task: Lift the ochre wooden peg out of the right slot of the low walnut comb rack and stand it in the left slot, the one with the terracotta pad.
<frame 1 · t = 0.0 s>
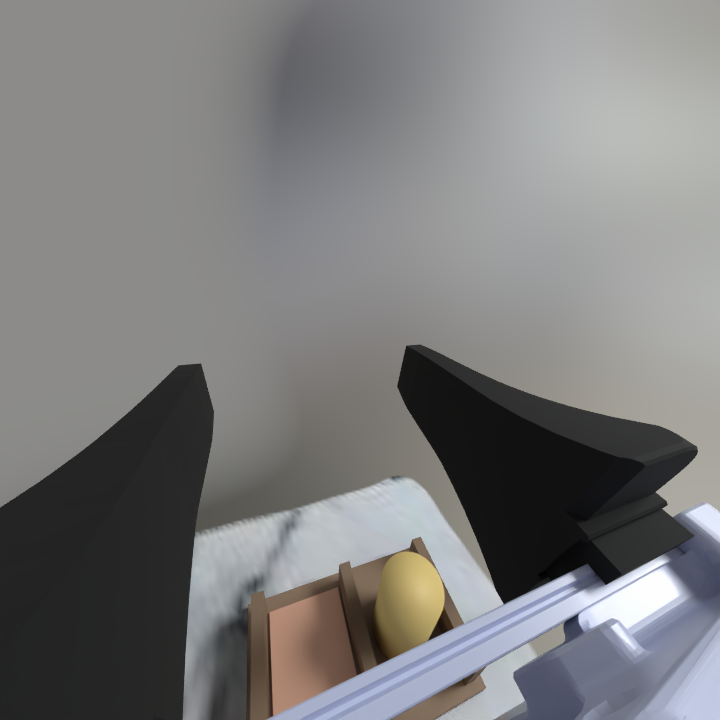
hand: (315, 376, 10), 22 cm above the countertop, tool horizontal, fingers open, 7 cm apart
peg: (399, 624, 20), resting on comb rack
comb rack: (357, 645, 19), on the countertop
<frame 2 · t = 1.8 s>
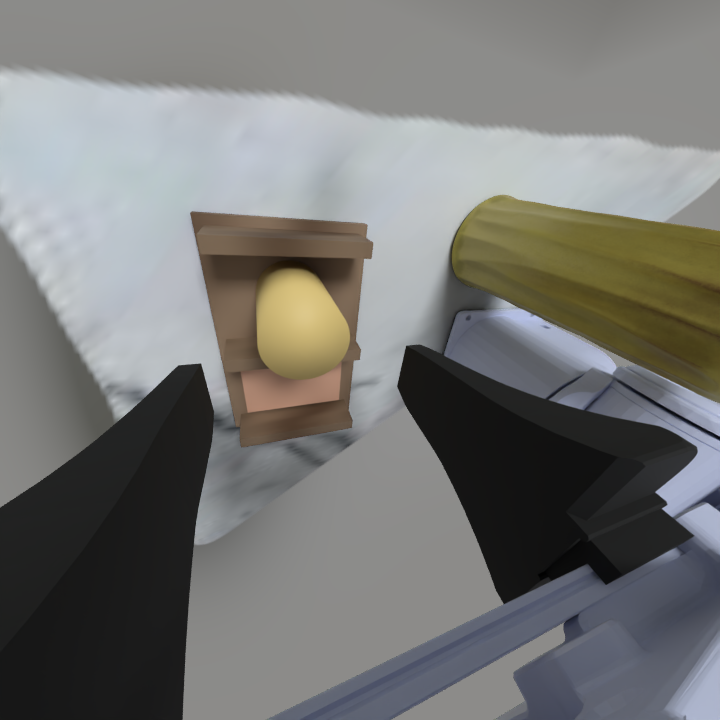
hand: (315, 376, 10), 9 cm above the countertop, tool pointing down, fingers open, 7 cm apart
peg: (290, 294, 17), resting on comb rack
vase: (485, 243, 20), on the countertop
comb rack: (291, 336, 19), on the countertop
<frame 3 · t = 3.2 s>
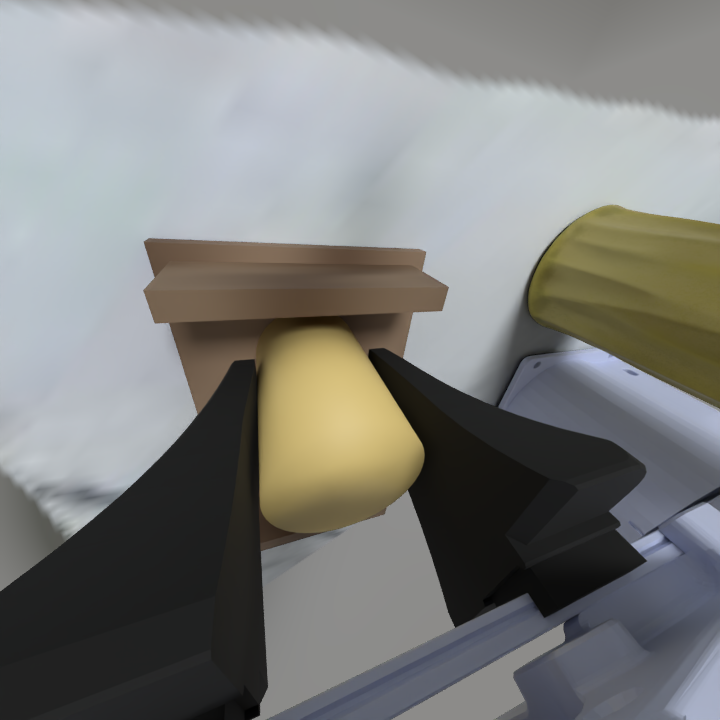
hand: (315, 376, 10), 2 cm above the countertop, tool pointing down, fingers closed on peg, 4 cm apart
peg: (308, 353, 11), point 1 cm above the countertop, touching comb rack, gripper
vase: (571, 270, 14), on the countertop
comb rack: (306, 403, 13), on the countertop
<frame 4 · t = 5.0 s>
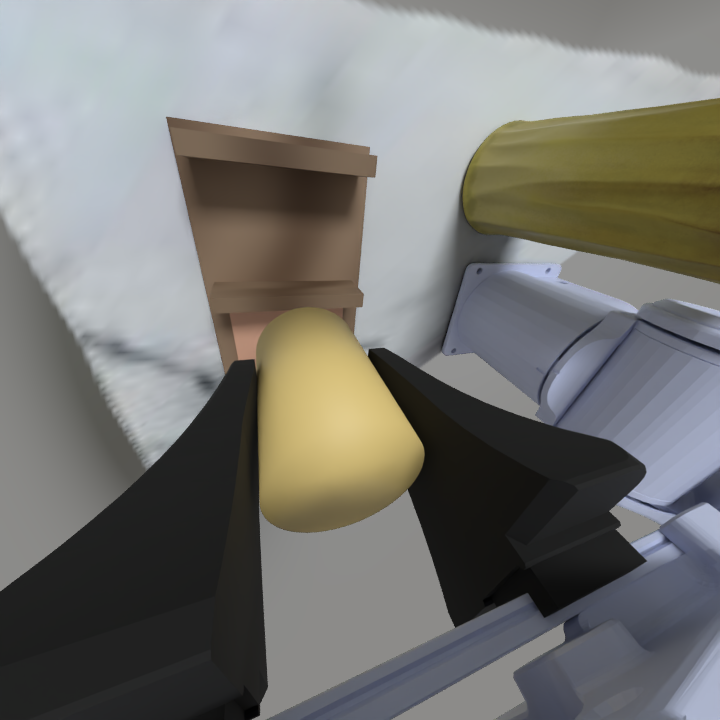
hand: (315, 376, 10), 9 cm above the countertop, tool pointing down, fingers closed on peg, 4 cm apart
peg: (307, 352, 11), point 8 cm above the countertop, touching gripper
vase: (499, 183, 18), on the countertop
comb rack: (287, 284, 17), on the countertop
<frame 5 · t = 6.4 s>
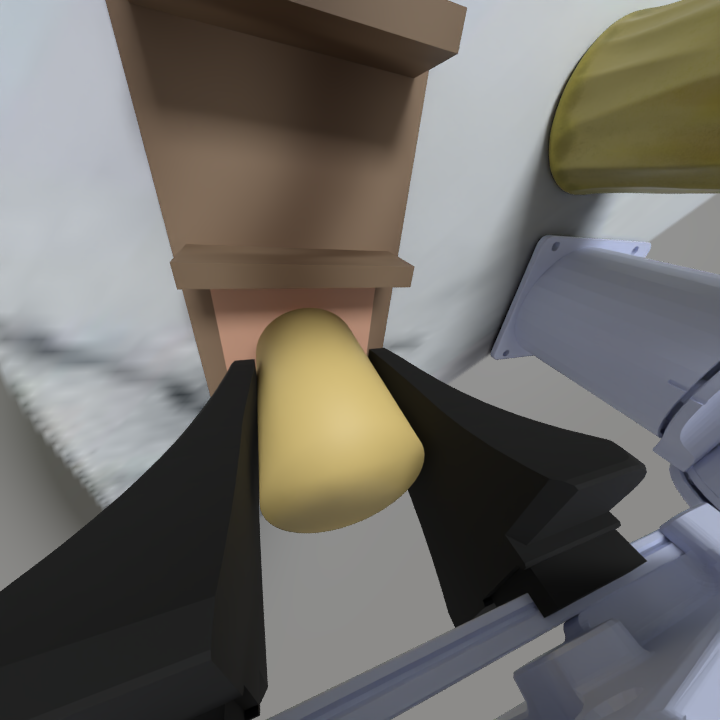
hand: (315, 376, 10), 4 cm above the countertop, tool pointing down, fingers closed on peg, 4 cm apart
peg: (308, 353, 11), point 3 cm above the countertop, touching gripper
vase: (598, 117, 13), on the countertop
comb rack: (297, 255, 12), on the countertop
when the fingers open (4 cm above the countertop, at t = 7.0 s): peg drops 1 cm, resting on comb rack.
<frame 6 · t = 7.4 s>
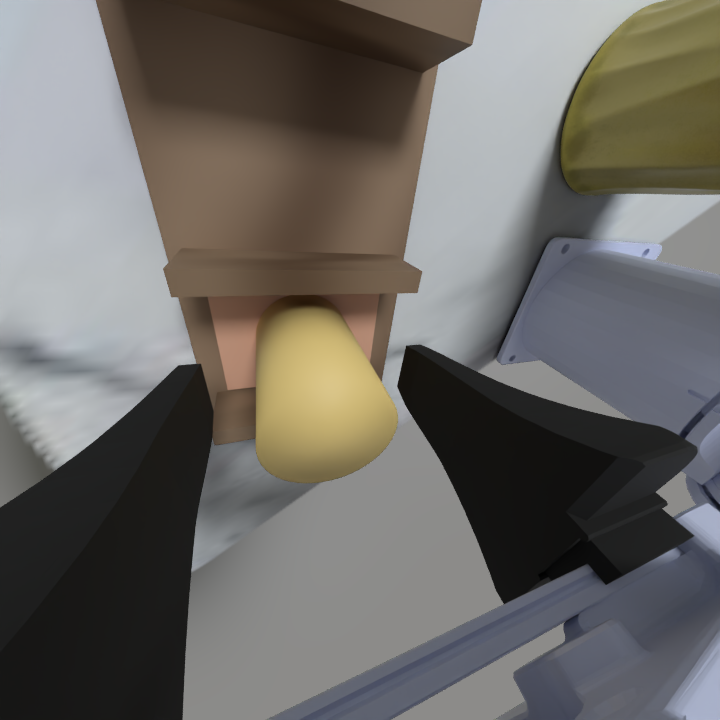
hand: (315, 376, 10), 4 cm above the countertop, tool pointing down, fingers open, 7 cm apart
peg: (303, 336, 12), point 1 cm above the countertop, touching comb rack
vase: (611, 115, 12), on the countertop
comb rack: (298, 259, 11), on the countertop
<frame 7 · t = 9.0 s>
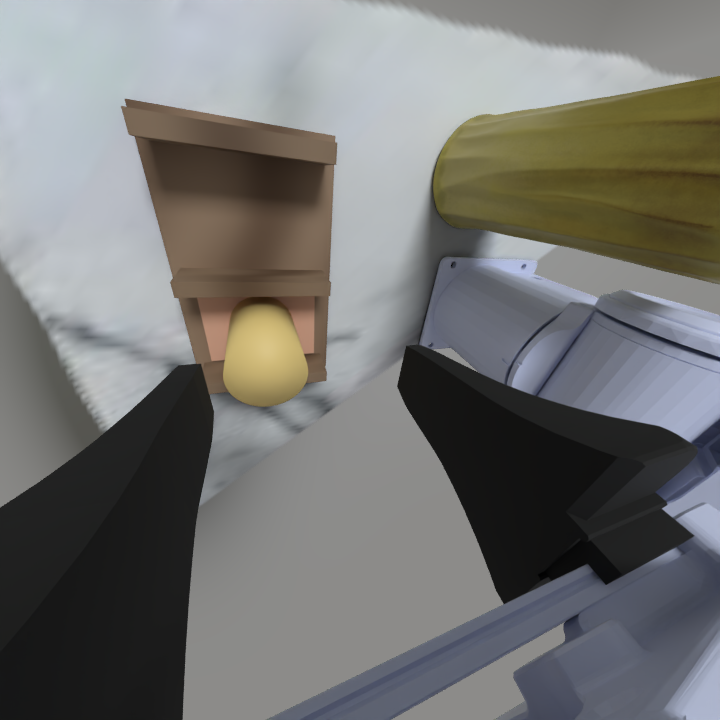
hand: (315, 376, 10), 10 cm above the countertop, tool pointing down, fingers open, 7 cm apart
peg: (262, 324, 18), point 1 cm above the countertop, touching comb rack
vase: (470, 177, 18), on the countertop
comb rack: (257, 273, 17), on the countertop
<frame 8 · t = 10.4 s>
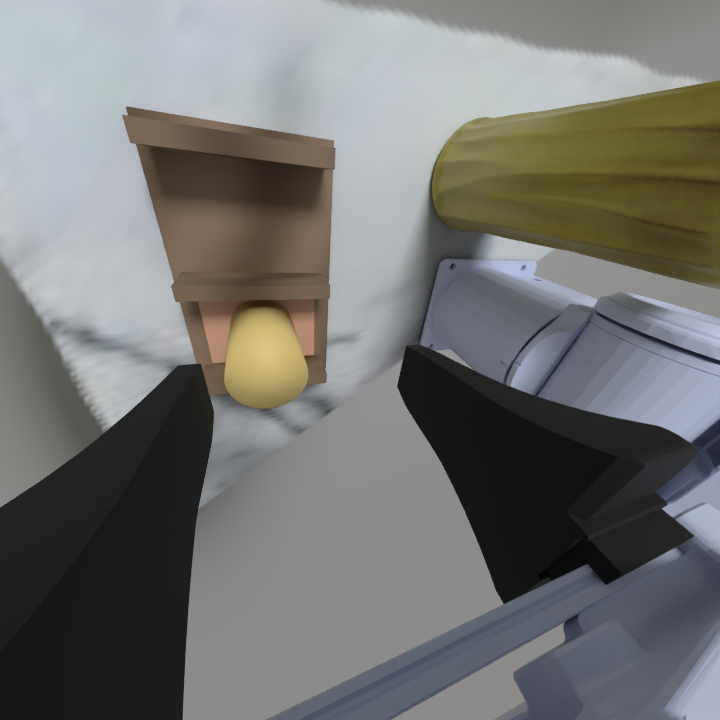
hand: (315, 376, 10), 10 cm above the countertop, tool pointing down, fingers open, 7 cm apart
peg: (262, 327, 18), point 1 cm above the countertop, touching comb rack
vase: (469, 179, 18), on the countertop
comb rack: (257, 276, 17), on the countertop
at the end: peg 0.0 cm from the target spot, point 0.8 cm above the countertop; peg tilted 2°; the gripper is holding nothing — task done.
